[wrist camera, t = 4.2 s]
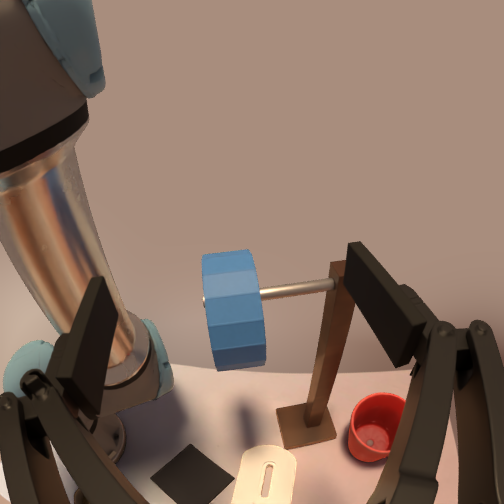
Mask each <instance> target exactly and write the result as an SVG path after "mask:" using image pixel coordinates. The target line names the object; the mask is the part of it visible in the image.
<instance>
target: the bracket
mask: <svg viewBox="0 0 504 504" xmlns="http://www.w3.org/2000/svg"><path fill="white" fill-rule="evenodd" d="M296 465H297V460H296V458H295V457H294V456H293V455H292V454H291V453H290V452H289V451H287V450H286V449H284V448H281V447H279V446H275V445H260V446H255V447H253V448H250V449H248V450H247V451H245V452H244V453H243V456H242V460H241V465H240V469H239V473H238V477H237V482H236V486H235V490H234V494H233V498H232V502H231V504H291V499H292V493H293V486H294V479H295V472H296ZM267 467H272V468H273V473H272V478H271V484H270V489H269V494H268V496H267V497H266V498H263V497H261V493H262V488H263V482H264V477H265V472H266V468H267Z"/></svg>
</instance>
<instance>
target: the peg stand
mask: <svg viewBox="0 0 504 504" xmlns="http://www.w3.org/2000/svg"><path fill="white" fill-rule="evenodd" d="M345 264H346V260H342V261H335V262H330V270H329V278H327V279H321V280H313V281H307V282H300V283H293V284H286V285H278V286H271V287H264V288H259V289H260V296H261V301H263V300H271V299H278V298H284V297H291V296H298V295H305V294H311V293H318V292H324V291H327V292H326V299H325V306H324V312H323V319H322V325H321V331H320V337H319V342H318V348H317V354H316V359H315V364H314V370H313V375H312V380H311V385H310V390H309V394H308V399H307V403H303V404H299V405H294V406H288V407H283V408H277V409H276V415H277V419H278V423H279V427H280V432H281V436H282V440H283V444H284V448H285V449H286V450H288V449H293V448H298V447H303V446H307V445H312V444H316V443H320V442H324V441H328V440H332V439H335V438H336V436H337V434H336V431H335V428H334V425H333V422H332V419H331V416H330V413H329V410H328V408H327V403H328V400H329V397H330V394H331V391H332V388H333V384H334V381H335V378H336V375H337V371H338V368H339V364H340V361H341V357H342V354H343V350H344V346H345V343H346V339H347V335H348V332H349V328H350V324H351V320H352V315H353V311H354V307H355V302H354V300H353V298H352V297H351V295H350V294H349V292H348V291H347V289H346V288H345V286H344V285H343V279H344V272H345ZM203 305H204V308H205V301H204V295H203Z"/></svg>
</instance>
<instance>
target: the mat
mask: <svg viewBox="0 0 504 504" xmlns="http://www.w3.org/2000/svg"><path fill="white" fill-rule="evenodd" d="M150 479H151V480H152V481H153V482H155V483H156V484H157V485H158V486H159V487H160V488H161V489H162V490H163V491H164V492H165V493H166V494H167V495H168V496H169V497H170V498H171V499H173V500H174V501H175V502H176V503H177V504H209V503H210V502H211V501H212V500H213V499H214V498H215V497H216V496H217V495H218V494H219V493H220V492H221V491H222V490H224V489H225V488H226V487H227V486H228V485H229V484H230V483H231V482H232V481H233V480H234V479H235V478H234V477H233V476H231V475H230V474H228V473H227V472H226V471H224V470H223V469H222V468H220V467H219V466H218V465H216V464H215V463H214V462H213V461H211V460H210V459H209V458H207V457H206V456H205V455H204V454H203V453H201V452H200V451H199V450H198V449H196V448H195V447H194V446H193V445H192V444H189V445H188V446H187V447H186V448H185V449H184V450H183V451H181V452H180V453H179V454H178V455H177V456H176V457H174V458H173V459H172V460H171V461H170V462H169V463H167V464H166V465H165V466H164V467H163V468H162V469H160V470H159V471H158V472H157V473H156V474H154V475H153V476H152V477H151V478H150Z"/></svg>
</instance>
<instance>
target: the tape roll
mask: <svg viewBox="0 0 504 504" xmlns="http://www.w3.org/2000/svg"><path fill="white" fill-rule="evenodd" d="M202 279H203V290H204V301H205V309H206V316H207V324H208V330H209V337H210V342H211V348H212V353H213V357H214V362H215V366H216V368H217V371H227V370H235V369H242V368H249V367H257V366H263V365H265V361H266V339H265V327H264V317H263V310H262V303H261V296H260V289H259V284H258V279H257V274H256V269H255V265H254V261H253V257H252V254H251V253H250V252H249V250H248V249H247V250H238V251H230V252H221V253H213V254H205V255H203V256H202Z"/></svg>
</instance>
